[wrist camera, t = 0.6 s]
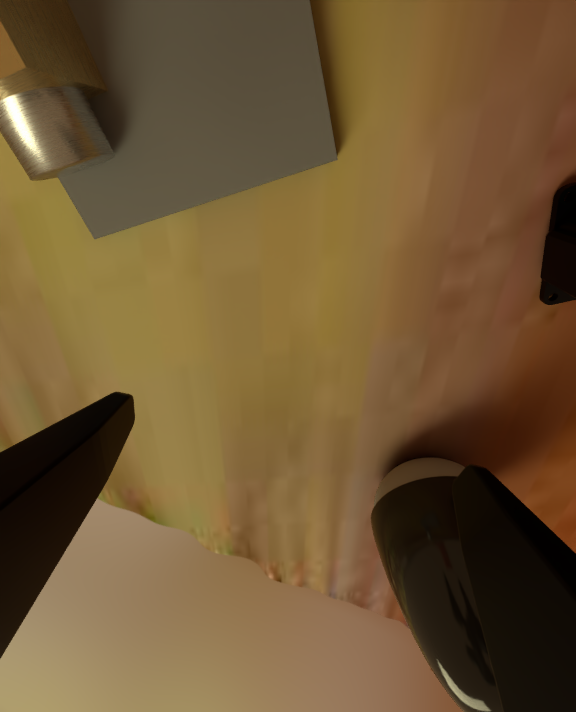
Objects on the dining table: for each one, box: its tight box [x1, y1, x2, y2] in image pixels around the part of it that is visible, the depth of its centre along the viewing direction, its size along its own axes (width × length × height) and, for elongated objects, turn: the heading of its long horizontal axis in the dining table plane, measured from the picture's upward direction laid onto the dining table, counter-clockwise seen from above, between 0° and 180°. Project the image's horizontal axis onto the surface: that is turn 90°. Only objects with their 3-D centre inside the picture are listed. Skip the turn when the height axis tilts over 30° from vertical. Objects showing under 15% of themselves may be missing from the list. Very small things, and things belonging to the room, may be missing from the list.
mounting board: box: [58, 0, 338, 239], centre depth 14 cm, size 14×12×1 cm
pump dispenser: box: [371, 458, 503, 712], centre depth 23 cm, size 10×10×15 cm
